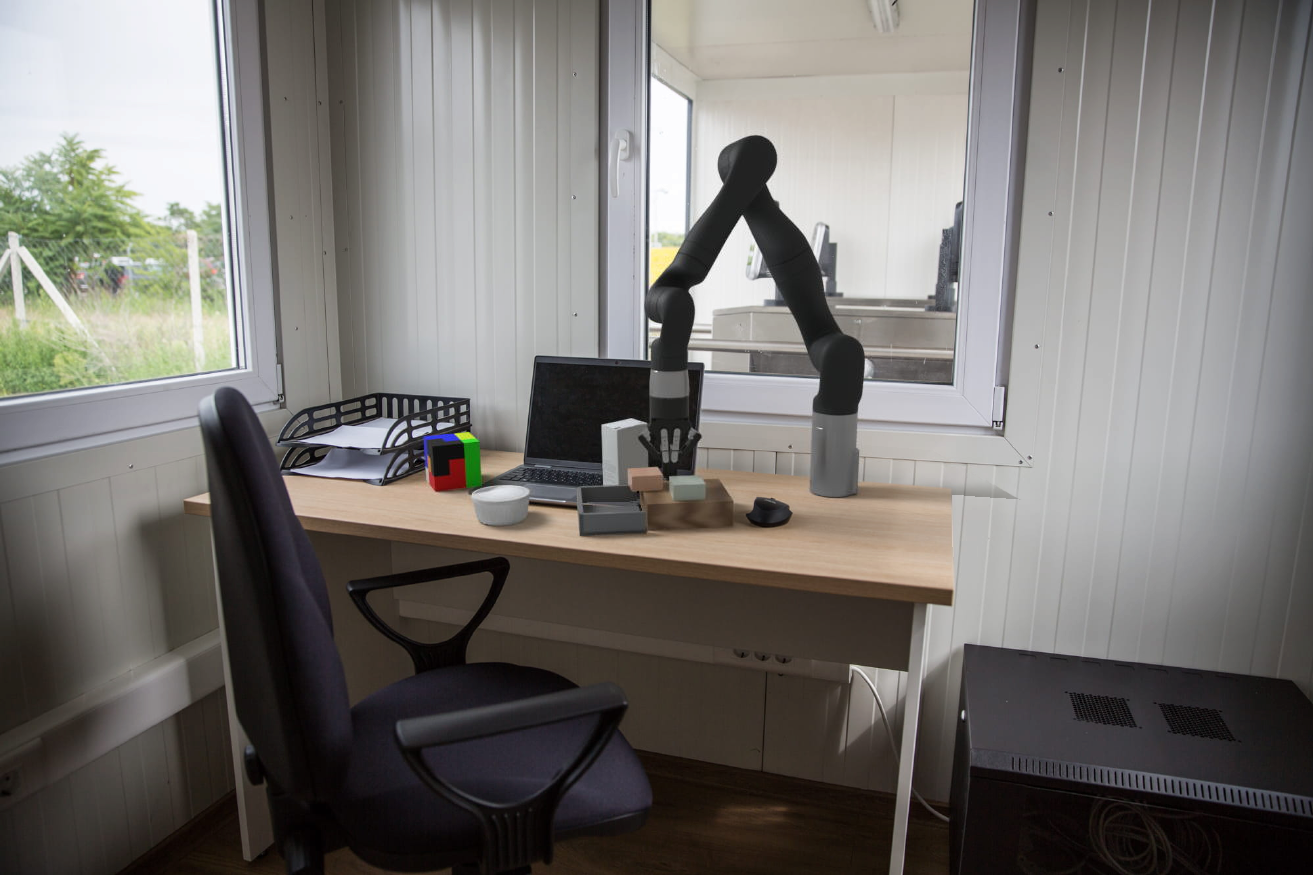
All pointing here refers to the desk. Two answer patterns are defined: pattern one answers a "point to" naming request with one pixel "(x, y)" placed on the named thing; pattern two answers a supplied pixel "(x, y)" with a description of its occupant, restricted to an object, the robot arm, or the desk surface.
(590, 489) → the box
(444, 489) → the puzzle toy
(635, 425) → the skincare box
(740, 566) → the desk surface
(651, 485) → the terracotta tile
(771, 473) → the desk surface
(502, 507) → the ramekin
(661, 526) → the wooden riser block
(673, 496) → the sage tile
